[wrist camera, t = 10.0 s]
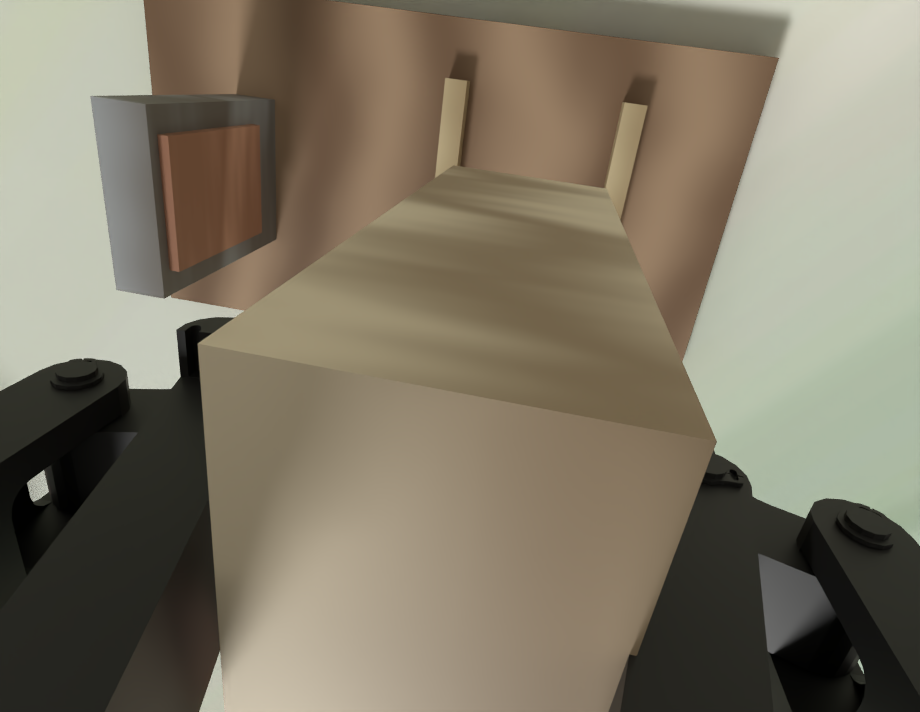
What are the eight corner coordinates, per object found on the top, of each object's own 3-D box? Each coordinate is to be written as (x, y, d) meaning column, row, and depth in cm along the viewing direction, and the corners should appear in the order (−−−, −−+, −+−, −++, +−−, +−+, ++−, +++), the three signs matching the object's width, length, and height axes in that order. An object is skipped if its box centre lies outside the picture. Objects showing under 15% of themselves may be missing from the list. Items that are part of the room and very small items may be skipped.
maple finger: (414, 394, 18) (204, 825, 8) (438, 163, 15) (149, 334, 5) (553, 420, 18) (540, 914, 7) (606, 188, 15) (716, 441, 4)
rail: (185, 289, 36) (32, 370, 25) (161, -19, 29) (-63, -79, 19) (669, 375, 33) (718, 504, 23) (767, 59, 26) (901, 40, 16)
